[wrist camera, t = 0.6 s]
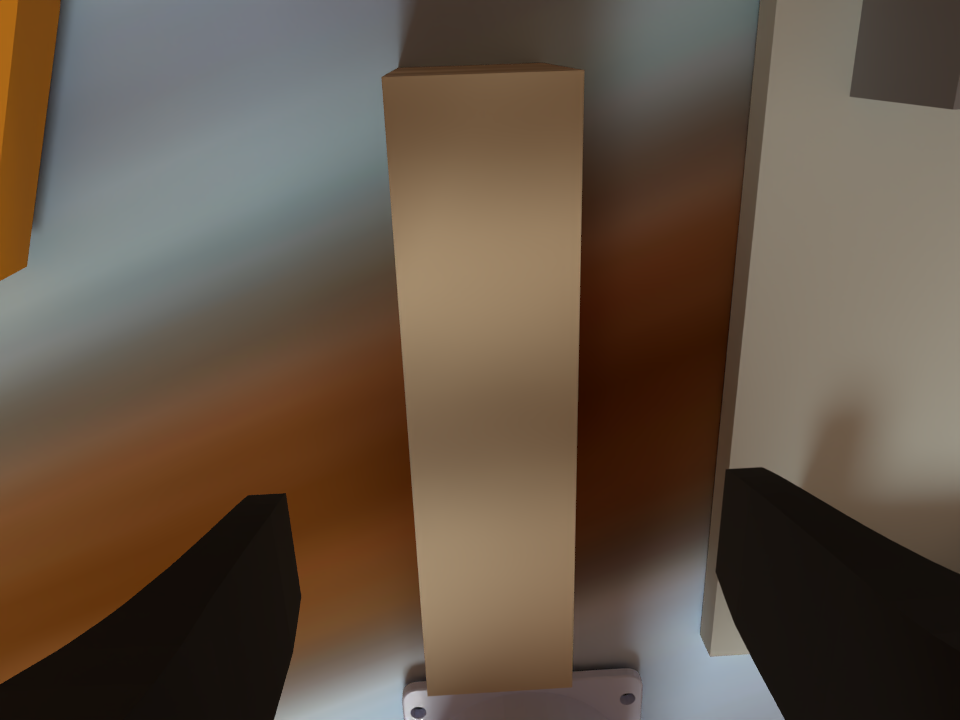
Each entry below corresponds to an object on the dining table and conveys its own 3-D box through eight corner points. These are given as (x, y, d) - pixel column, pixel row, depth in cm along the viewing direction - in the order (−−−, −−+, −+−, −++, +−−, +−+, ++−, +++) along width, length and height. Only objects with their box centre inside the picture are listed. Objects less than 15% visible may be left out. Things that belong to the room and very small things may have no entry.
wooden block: (541, 540, 24) (572, 687, 19) (430, 545, 24) (427, 696, 19) (541, 62, 19) (584, 70, 13) (398, 67, 19) (381, 77, 13)
